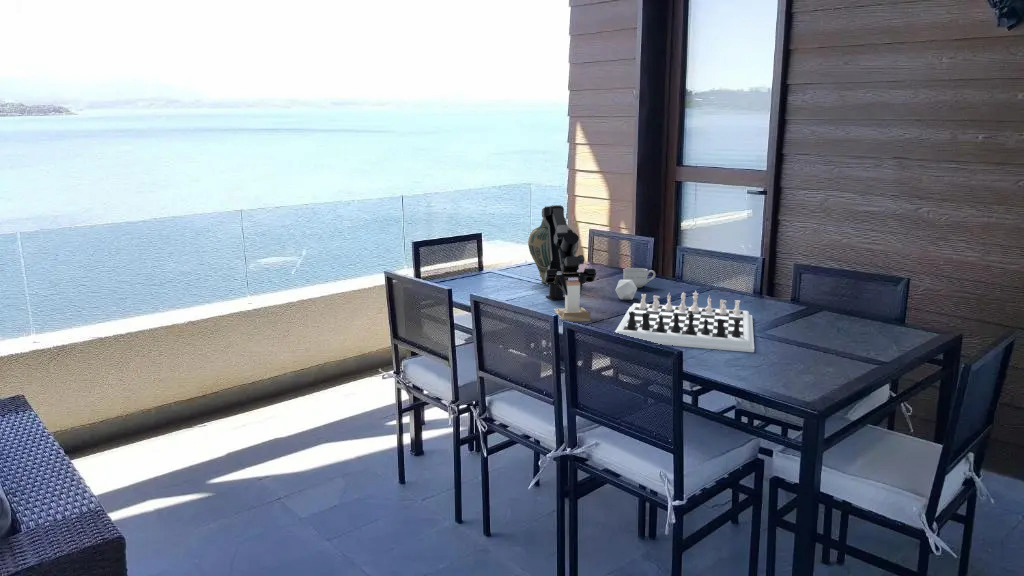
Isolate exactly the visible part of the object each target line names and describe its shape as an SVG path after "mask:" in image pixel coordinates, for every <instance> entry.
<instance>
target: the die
mask: <svg viewBox="0 0 1024 576" xmlns="http://www.w3.org/2000/svg"><path fill="white" fill-rule="evenodd" d="M637 290H638V288H637V287H636V286H635V284H634V282H633V281H632V280H623V279H619V280H618V282H617V286H616V288H615V290H614V291H615V292H616V295H617V296H618V299H619V300H633V299H634V297H635V295H636V293H637Z"/></svg>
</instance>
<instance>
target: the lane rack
mask: <svg viewBox="0 0 1024 576" xmlns="http://www.w3.org/2000/svg"><path fill="white" fill-rule="evenodd" d="M553 310H554V311H555V313H556V314H557V315H558V316H559V318H561V320H562V321H563V320H567V321H566V322H586V321H588V322H589V321H590V322H591V321H592V320H591V311H587V310H586V309H585V308H584V307H580V310H579V312H567V311H566V310H565V308H561V307H560V308H559V307H558V308H553Z"/></svg>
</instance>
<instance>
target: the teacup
mask: <svg viewBox="0 0 1024 576" xmlns="http://www.w3.org/2000/svg"><path fill="white" fill-rule="evenodd" d="M622 270H623V274H622V275H623V279H622V280H632V281H633V282H634V284H635V286H636V287H637V289H638V288H644V286H645V285H647V284H649V282H650V281H652V280H653V279H655V277H656V271H655V270H652V269H651V270H649V269H647V268H643V267H642V268H641V267H628V268H627V267H626V268H623V269H622ZM650 273H652V276H651V277H650V278H648V276H649V274H650Z"/></svg>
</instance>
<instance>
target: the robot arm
mask: <svg viewBox="0 0 1024 576" xmlns="http://www.w3.org/2000/svg"><path fill="white" fill-rule="evenodd" d="M541 217H542V219H544V223H545V225H546V226H547V227H548V232H549V244H550V256H551V262H550V264H549V266H548V269H547V270H546V273H545V284H546V285H548V295H545V298H547V299H549V300H551V301H560V300H565V295H566V296H567V294H568V293H567V288H566V284H565V283H566V280H569V279H577V280H578V281H579V282H580V295H581V294H582V289H583V284H584V285H585V284H586V283H592V282H594V281H595V279H596V276H597V270H596V269H595V268H594V267H588V268H586V267H585V268H584V270H583V271H581V272H580V271H578V270H579V269H580V267H579V266H580V265H583V264H584V263H585V258H584V255H583V254H579V255H577V256H575V255H574V251H575V250H576V247H577V243H578V244H579V240H580V237H579V235H578V234H577V233H576V232H575V233H574V232H572V230H573V229H572V228H570V227H569V226H568V224H567V225H566V223H567V220H566V221H565V218H566V217H565V208H564V207H563V205H561V204H559V205H555V204H552V205H550V206H549V205H548V206H546V205H545V206H544V207H543V208H542V209H541ZM567 226H568V227H567ZM571 229H572V230H571Z"/></svg>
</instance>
